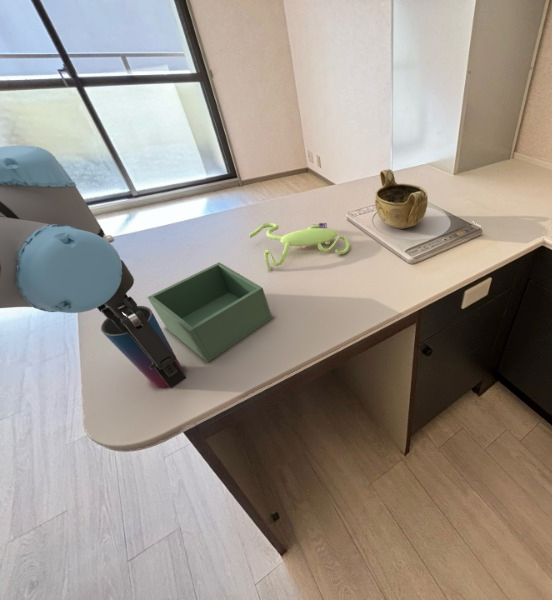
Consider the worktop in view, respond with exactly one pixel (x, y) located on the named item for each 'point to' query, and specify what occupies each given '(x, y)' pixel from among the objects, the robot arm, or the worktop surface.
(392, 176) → the ceramic bowl
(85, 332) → the worktop surface
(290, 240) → the figurine
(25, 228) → the robot arm
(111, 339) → the cup
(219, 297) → the bin
